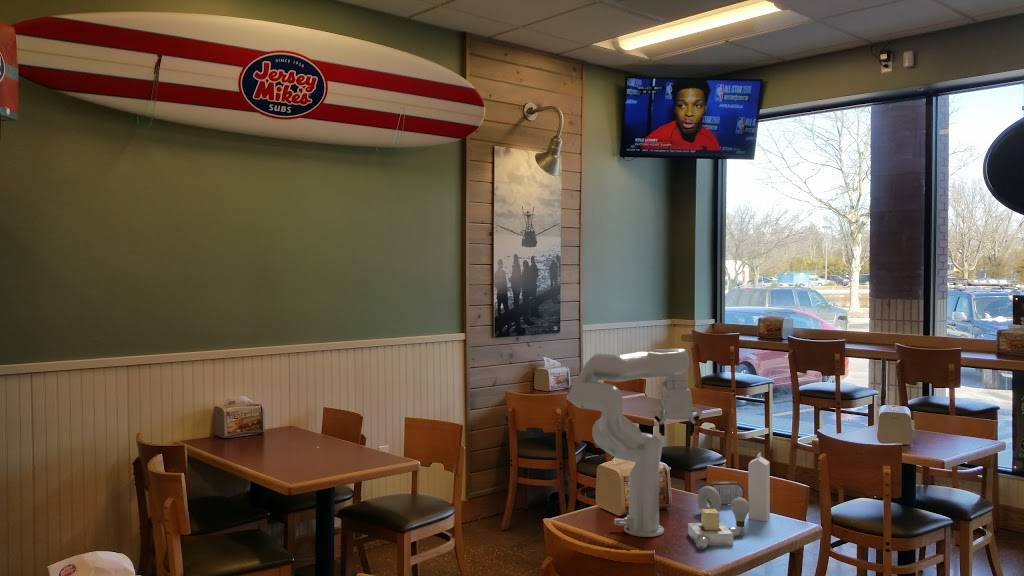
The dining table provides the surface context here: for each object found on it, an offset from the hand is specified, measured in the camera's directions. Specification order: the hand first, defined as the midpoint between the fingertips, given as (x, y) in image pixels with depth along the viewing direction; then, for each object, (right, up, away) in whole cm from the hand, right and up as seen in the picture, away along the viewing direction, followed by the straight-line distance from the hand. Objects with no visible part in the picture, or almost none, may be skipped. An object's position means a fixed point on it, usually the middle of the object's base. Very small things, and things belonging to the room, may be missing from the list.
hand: (676, 435), depth 270 cm
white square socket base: (+6, -28, -23) cm, 37 cm away
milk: (+28, -28, 0) cm, 40 cm away
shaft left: (+2, -28, -30) cm, 41 cm away
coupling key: (+6, -28, -23) cm, 37 cm away
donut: (+12, -29, +3) cm, 31 cm away
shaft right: (+13, -28, -20) cm, 37 cm away
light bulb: (+18, -29, -11) cm, 36 cm away
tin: (+21, -29, +17) cm, 39 cm away
